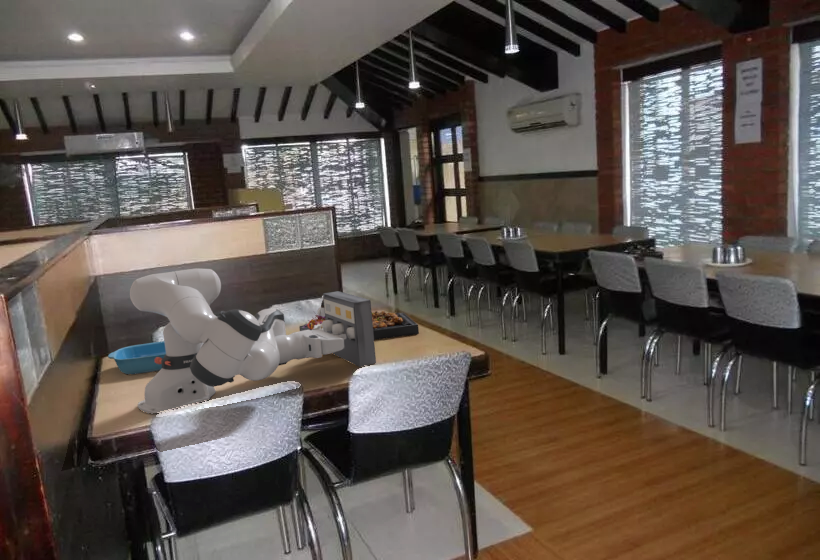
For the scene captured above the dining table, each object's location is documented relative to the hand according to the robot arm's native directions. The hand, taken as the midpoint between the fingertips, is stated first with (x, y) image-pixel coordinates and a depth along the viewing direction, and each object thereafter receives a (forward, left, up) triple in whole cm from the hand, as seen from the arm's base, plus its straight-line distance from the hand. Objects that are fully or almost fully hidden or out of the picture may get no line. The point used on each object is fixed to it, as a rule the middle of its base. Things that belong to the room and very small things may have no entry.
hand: (344, 335), depth 210 cm
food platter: (+32, +29, -11) cm, 45 cm away
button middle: (+4, +7, -1) cm, 9 cm away
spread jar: (+44, +63, -11) cm, 77 cm away
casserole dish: (-33, +65, -11) cm, 73 cm away
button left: (+7, +15, -1) cm, 17 cm away
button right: (+4, -1, -1) cm, 4 cm away
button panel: (+7, +7, -10) cm, 14 cm away
